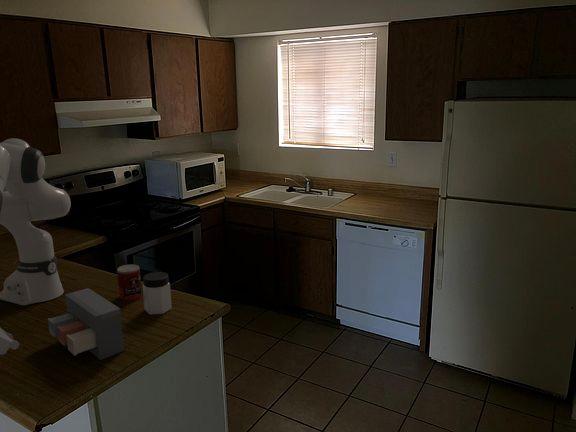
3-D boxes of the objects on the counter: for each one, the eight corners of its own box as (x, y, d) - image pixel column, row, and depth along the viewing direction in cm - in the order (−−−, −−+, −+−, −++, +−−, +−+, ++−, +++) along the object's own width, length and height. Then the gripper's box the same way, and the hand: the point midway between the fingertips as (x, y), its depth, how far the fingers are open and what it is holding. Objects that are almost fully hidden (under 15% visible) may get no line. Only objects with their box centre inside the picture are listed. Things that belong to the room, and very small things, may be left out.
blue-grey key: (55, 337, 139) (53, 323, 138) (49, 332, 142) (47, 318, 141) (81, 328, 144) (79, 315, 143) (75, 324, 147) (73, 310, 146)
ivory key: (74, 355, 129) (72, 340, 128) (68, 349, 132) (66, 335, 131) (102, 345, 134) (100, 331, 133) (95, 340, 137) (93, 325, 136)
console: (100, 360, 133) (95, 316, 130) (70, 334, 148) (65, 294, 145) (124, 350, 138) (120, 308, 135) (92, 326, 153) (88, 288, 149)
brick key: (64, 346, 134) (62, 331, 133) (58, 340, 137) (56, 326, 136) (91, 337, 139) (89, 322, 138) (85, 331, 142) (83, 318, 141)
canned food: (124, 303, 170) (121, 273, 167) (116, 296, 176) (113, 267, 173) (145, 297, 174) (143, 268, 172) (136, 290, 180) (134, 262, 178)
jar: (173, 303, 169) (171, 271, 166) (170, 313, 161) (167, 279, 158) (146, 304, 168) (144, 272, 165) (142, 315, 160) (139, 281, 157)
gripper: (-18, 321, 105) (37, 346, 114) (-40, 294, 119) (10, 318, 128) (-38, 347, 103) (18, 370, 112) (-59, 317, 117) (-7, 339, 126)
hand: (14, 342), depth 120 cm, fingers open, 3 cm apart
